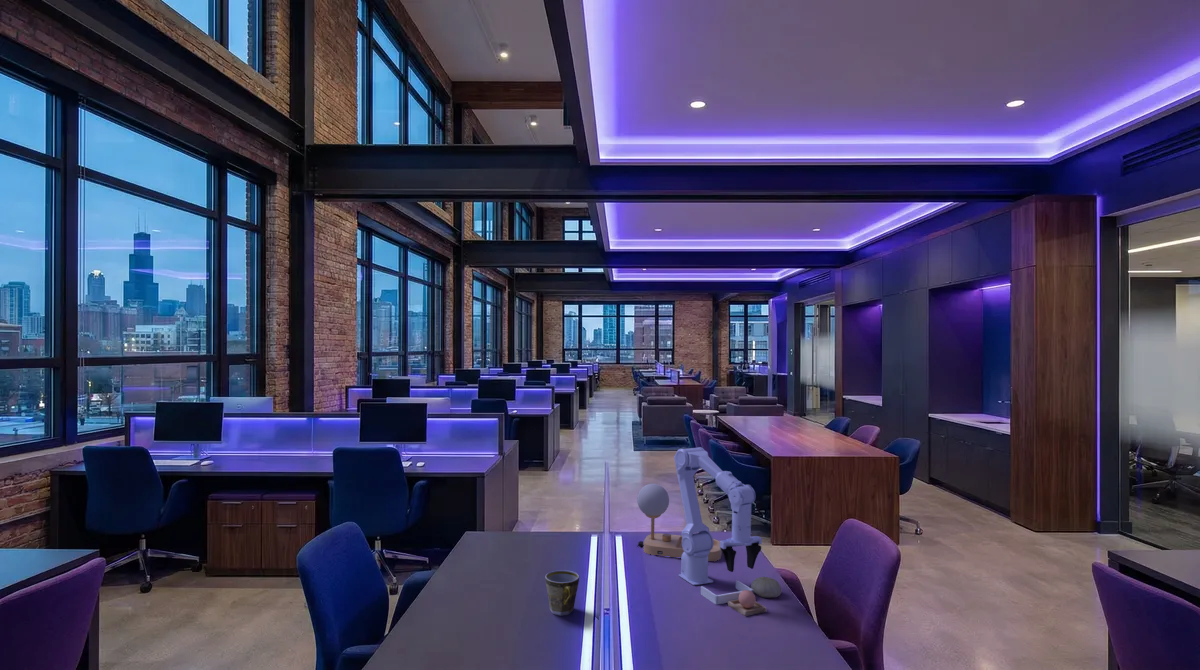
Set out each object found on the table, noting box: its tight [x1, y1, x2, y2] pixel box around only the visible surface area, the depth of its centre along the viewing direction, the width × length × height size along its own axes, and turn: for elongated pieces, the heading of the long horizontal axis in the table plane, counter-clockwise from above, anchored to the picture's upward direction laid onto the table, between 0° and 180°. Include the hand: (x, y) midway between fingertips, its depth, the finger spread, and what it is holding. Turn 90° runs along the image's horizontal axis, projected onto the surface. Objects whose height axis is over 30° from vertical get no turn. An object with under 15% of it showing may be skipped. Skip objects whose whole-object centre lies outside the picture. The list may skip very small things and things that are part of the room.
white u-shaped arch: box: [700, 579, 755, 605], centre depth 185 cm, size 8×14×2 cm, turn 114°
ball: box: [739, 590, 757, 608], centre depth 176 cm, size 5×5×5 cm
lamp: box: [636, 483, 723, 562], centre depth 228 cm, size 33×17×25 cm, turn 75°
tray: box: [727, 599, 767, 617], centre depth 176 cm, size 8×8×1 cm
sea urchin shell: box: [750, 576, 782, 599], centre depth 188 cm, size 9×8×8 cm
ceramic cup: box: [544, 569, 580, 616], centre depth 171 cm, size 13×10×10 cm
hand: (740, 569), depth 182 cm, fingers open, 7 cm apart
